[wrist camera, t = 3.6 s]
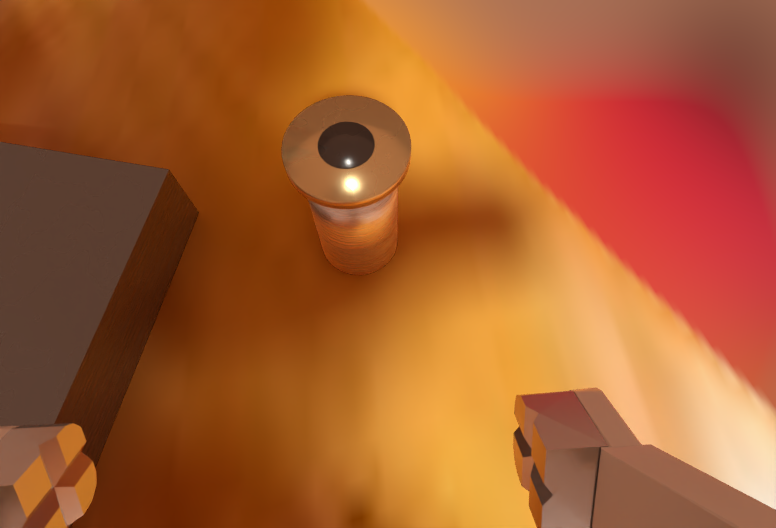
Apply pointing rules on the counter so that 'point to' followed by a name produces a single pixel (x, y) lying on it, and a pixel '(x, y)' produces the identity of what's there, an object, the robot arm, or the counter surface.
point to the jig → (80, 282)
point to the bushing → (350, 177)
